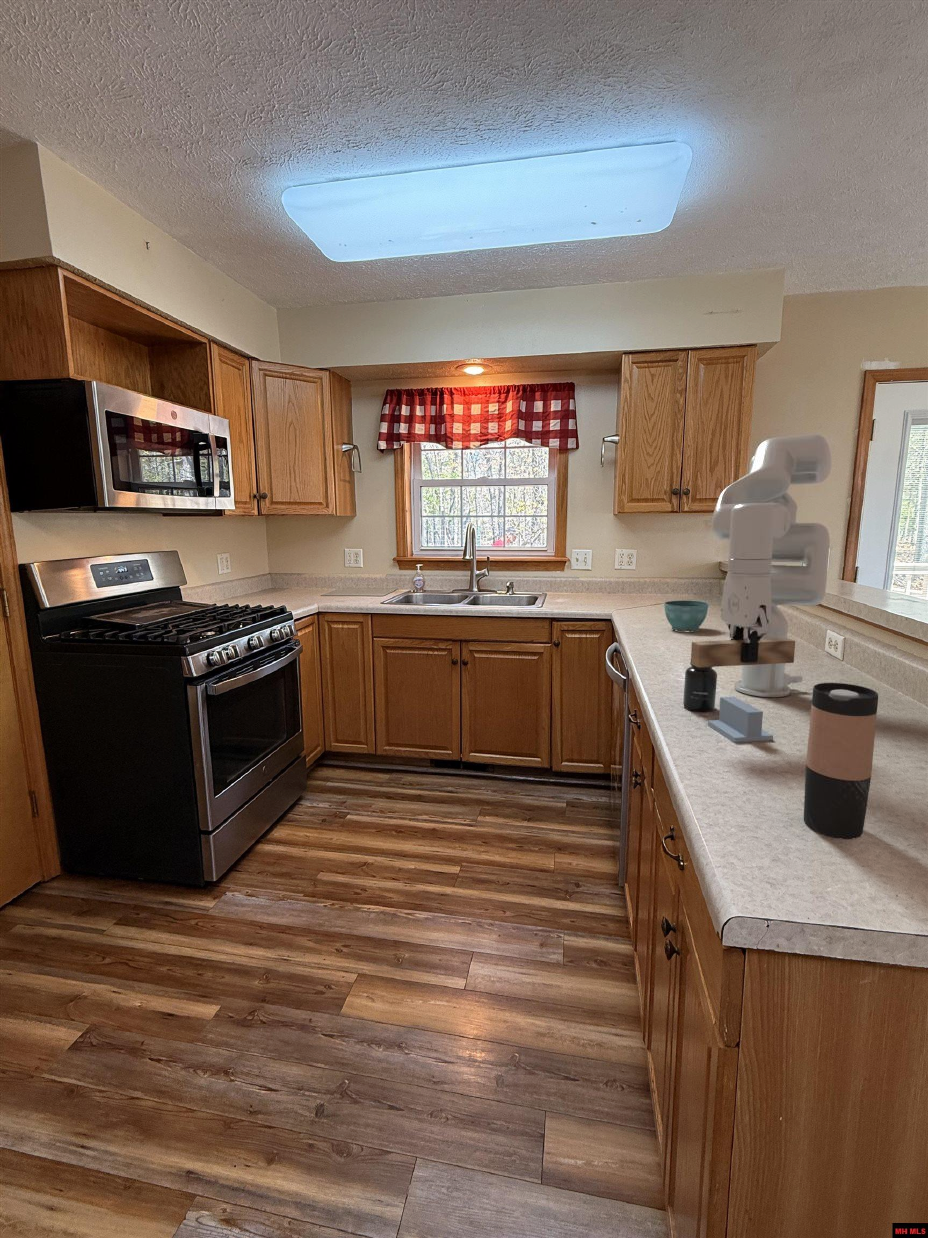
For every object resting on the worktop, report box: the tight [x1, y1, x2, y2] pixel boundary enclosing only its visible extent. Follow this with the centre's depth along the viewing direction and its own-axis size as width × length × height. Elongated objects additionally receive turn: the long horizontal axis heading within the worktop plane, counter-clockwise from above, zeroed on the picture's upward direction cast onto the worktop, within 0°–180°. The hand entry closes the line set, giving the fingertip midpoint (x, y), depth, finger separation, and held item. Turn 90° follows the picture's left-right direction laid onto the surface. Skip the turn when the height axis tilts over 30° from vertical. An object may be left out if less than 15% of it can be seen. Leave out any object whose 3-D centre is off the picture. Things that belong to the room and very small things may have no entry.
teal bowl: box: [663, 599, 709, 633], centre depth 225 cm, size 16×16×11 cm
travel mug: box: [803, 682, 879, 840], centre depth 80 cm, size 8×8×20 cm
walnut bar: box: [690, 637, 796, 668], centre depth 115 cm, size 20×3×4 cm, turn 96°
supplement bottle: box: [682, 661, 718, 713], centre depth 133 cm, size 7×7×12 cm
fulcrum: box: [707, 696, 774, 744], centre depth 118 cm, size 8×10×6 cm
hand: (743, 659), depth 115 cm, fingers closed on walnut bar, 3 cm apart
